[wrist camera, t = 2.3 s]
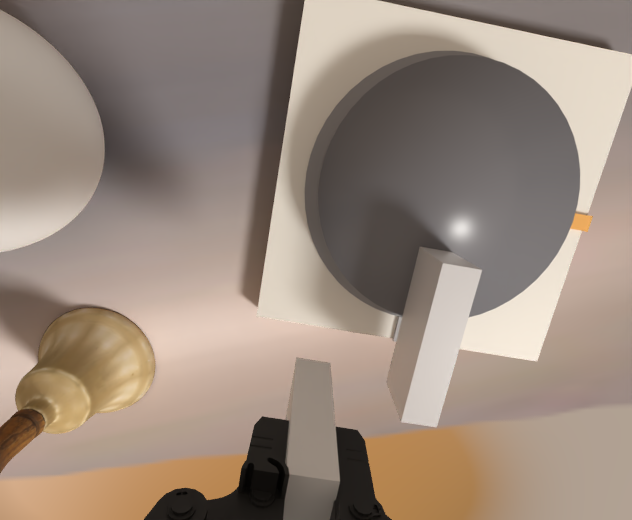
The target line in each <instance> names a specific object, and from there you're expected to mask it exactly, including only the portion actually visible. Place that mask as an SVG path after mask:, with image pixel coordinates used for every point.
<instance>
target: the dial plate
mask: <svg viewBox="0 0 632 520" xmlns="http://www.w3.org/2000/svg"><path fill="white" fill-rule="evenodd" d="M448 55H471V56H478V57H486V58H489V59H493V60H496V61H500V62H503V63H505V64H507V65H510V66H512V67H514V68H516V69H518V70H520V71H522V72H523V73H525V74H526V75H528V76H529V77H531V78H532V79H534V80H535V81H536V82H537V83H538V84H539V85H541V86H542V87H543V88H544V89H545V90H546V91H547V92H548V93H549V94H550V96H551V97H552V98H553V99H554V100H555V102H556V103H557V104H558V105H559V107H560V109H561V111H562V112H563V114H564V116H565V117H566V119H567V121H568V123H569V126H570V128H571V130H572V133H573V135H574V139H575V143H576V146H577V150H578V156H579V164H580V191H579V198H578V205H577V208H576V212H575V216H574V220H573V223H572V225H571V228H570V230H569V233H568V235H567V238H566V239H565V241H564V243H563V245H562V247H561V248H560V250H559V252H558V254H557V255H556V257H555V258H554V259H553V261H552V262H551V264H550V265H549V266H548V268H547V269H546V270H545V271H544V272H543V273H542V274H541V275H540V276H539V278H538V279H537V280H536V281H535V282H533V283H532V284H531V285H530V286H529V287H528V288H527V289H525V290H524V291H523V292H522V293H520V294H519V295H517V296H516V297H514V298H513V299H512V300H510V301H508V302H506V303H505V304H503V305H501V306H499V307H497V308H495V309H493V310H490V311H488V312H485V313H483V314H480V315H476V316H473V317H469V318H468V321H467V324H466V328H465V331H464V335H463V338H462V342H461V345H460V348H459V349H463V350H469V351H475V352H482V353H488V354H494V355H500V356H507V357H513V358H519V359H526V360H532V361H537V360H538V357H539V354H540V351H541V348H542V345H543V342H544V340H545V337H546V334H547V331H548V328H549V325H550V322H551V319H552V316H553V313H554V311H555V308H556V305H557V302H558V299H559V296H560V293H561V290H562V287H563V284H564V281H565V279H566V276H567V273H568V270H569V267H570V264H571V261H572V258H573V255H574V252H575V249H576V247H577V244H578V241H579V238H580V235H581V232H582V231H586V232H588V229H589V226H590V223H591V220H592V217H593V216H588V212H589V209H590V206H591V203H592V200H593V197H594V194H595V191H596V188H597V186H598V183H599V180H600V177H601V174H602V171H603V168H604V165H605V162H606V159H607V156H608V154H609V151H610V148H611V145H612V142H613V139H614V136H615V133H616V130H617V127H618V125H619V122H620V119H621V116H622V113H623V110H624V107H625V104H626V101H627V98H628V95H629V93H630V90H631V87H632V54H627V53H622V52H617V51H613V50H608V49H603V48H599V47H594V46H589V45H585V44H580V43H575V42H571V41H566V40H561V39H557V38H552V37H547V36H542V35H538V34H533V33H528V32H524V31H519V30H514V29H510V28H505V27H500V26H496V25H491V24H486V23H482V22H477V21H472V20H467V19H463V18H458V17H453V16H449V15H444V14H439V13H435V12H430V11H425V10H421V9H416V8H411V7H407V6H402V5H397V4H393V3H388V2H383V1H378V0H305V2H304V8H303V15H302V21H301V28H300V34H299V41H298V48H297V54H296V61H295V67H294V74H293V80H292V87H291V93H290V100H289V107H288V113H287V120H286V126H285V133H284V139H283V146H282V152H281V159H280V165H279V172H278V179H277V185H276V192H275V198H274V205H273V211H272V218H271V224H270V231H269V237H268V244H267V251H266V257H265V264H264V270H263V277H262V283H261V290H260V296H259V303H258V310H257V316H256V317H262V318H268V319H274V320H280V321H287V322H293V323H299V324H306V325H312V326H318V327H324V328H331V329H337V330H343V331H350V332H356V333H362V334H368V335H375V336H381V337H387V338H393V341H395V342H396V341H397V337H398V333H399V329H400V325H401V321H402V317H403V316H401V315H398V314H396V313H393V312H390V311H388V310H386V309H384V308H382V307H380V306H378V305H376V304H375V303H373V302H372V301H370V300H369V299H368V298H366V297H365V296H363V295H362V294H361V293H360V292H359V291H358V290H357V289H356V288H354V287H353V286H352V285H351V284H350V283H349V281H348V280H347V279H346V278H345V276H344V275H343V274H342V273H341V271H340V270H339V268H338V266H337V265H336V263H335V262H334V260H333V258H332V256H331V254H330V252H329V249H328V247H327V245H326V242H325V239H324V235H323V232H322V228H321V224H320V218H319V211H318V182H319V174H320V170H321V165H322V161H323V158H324V155H325V152H326V150H327V147H328V145H329V142H330V140H331V138H332V137H333V135H334V133H335V131H336V129H337V127H338V126H339V125H340V123H341V122H342V120H343V119H344V118H345V116H346V115H347V113H348V112H349V111H350V109H351V108H352V107H353V106H354V105H355V104H356V103H357V102H358V100H359V99H360V98H361V97H362V96H363V95H364V94H365V93H366V92H368V91H369V90H370V89H371V88H372V87H374V86H375V85H376V84H377V83H378V82H380V81H381V80H383V79H385V78H386V77H388V76H389V75H391V74H392V73H394V72H396V71H398V70H400V69H402V68H404V67H407V66H409V65H411V64H414V63H417V62H420V61H423V60H427V59H430V58H436V57H442V56H448Z"/></svg>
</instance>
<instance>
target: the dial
mask: <svg viewBox="0 0 632 520" xmlns="http://www.w3.org/2000/svg"><path fill="white" fill-rule="evenodd" d="M579 191H580V164H579V156H578V150H577V146H576V143H575V139H574V135H573V133H572V130H571V128H570V126H569V123H568V121H567V119H566V117H565V116H564V114H563V112H562V111H561V109H560V107H559V105H558V104H557V103H556V102H555V100H554V99H553V98H552V97H551V96H550V94H549V93H548V92H547V91H546V90H545V89H544V88H543V87H542V86H541V85H539V84H538V83H537V82H536V81H535V80H534V79H532V78H531V77H529V76H528V75H526V74H525V73H523V72H522V71H520V70H518V69H516V68H514V67H512V66H510V65H507V64H505V63H503V62H500V61H496V60H493V59H489V58H486V57H478V56H471V55H448V56H442V57H436V58H430V59H427V60H423V61H420V62H417V63H414V64H411V65H409V66H407V67H404V68H402V69H400V70H398V71H396V72H394V73H392V74H391V75H389V76H388V77H386V78H385V79H383V80H381V81H380V82H378V83H377V84H376V85H375V86H374V87H372V88H371V89H370V90H369V91H368V92H366V93H365V94H364V95H363V96H362V97H361V98H360V99H359V100H358V102H357V103H356V104H355V105H354V106H353V107H352V108H351V109H350V111H349V112H348V113H347V115H346V116H345V118H344V119H343V120H342V122H341V123H340V125H339V126H338V127H337V129H336V131H335V133H334V135H333V137H332V138H331V140H330V142H329V145H328V147H327V150H326V152H325V155H324V158H323V161H322V165H321V170H320V174H319V182H318V211H319V218H320V224H321V228H322V232H323V235H324V239H325V242H326V245H327V247H328V249H329V252H330V254H331V256H332V258H333V260H334V262H335V263H336V265H337V266H338V268H339V270H340V271H341V273H342V274H343V275H344V276H345V278H346V279H347V280H348V281H349V283H350V284H351V285H352V286H353V287H354V288H356V289H357V290H358V291H359V292H360V293H361V294H362V295H363V296H365V297H366V298H368V299H369V300H370V301H372V302H373V303H375V304H376V305H378V306H380V307H382V308H384V309H386V310H388V311H390V312H393V313H396V314H398V315H401V316H403V317H402V321H401V325H400V329H399V333H398V337H397V341H396V345H395V349H394V353H393V357H392V361H391V365H390V369H389V373H388V377H387V381H386V382H387V385H388V388H389V390H390V393H391V396H392V399H393V401H394V404H395V407H396V410H397V412H398V415H399V418H400V421H401V422H404V423H411V424H418V425H425V426H432V427H437V424H438V421H439V417H440V414H441V411H442V407H443V404H444V400H445V397H446V393H447V390H448V386H449V383H450V380H451V376H452V373H453V369H454V366H455V362H456V359H457V355H458V352H459V348H460V345H461V342H462V338H463V335H464V331H465V328H466V324H467V321H468V318H469V317H473V316H476V315H480V314H483V313H485V312H488V311H490V310H493V309H495V308H497V307H499V306H501V305H503V304H505V303H506V302H508V301H510V300H512V299H513V298H514V297H516V296H517V295H519V294H520V293H522V292H523V291H524V290H525V289H527V288H528V287H529V286H530V285H531V284H532V283H533V282H535V281H536V280H537V279H538V278H539V276H540V275H541V274H542V273H543V272H544V271H545V270H546V269H547V268H548V266H549V265H550V264H551V262H552V261H553V259H554V258H555V257H556V255H557V254H558V252H559V250H560V248H561V247H562V245H563V243H564V241H565V239H566V238H567V235H568V233H569V230H570V228H571V225H572V223H573V220H574V216H575V212H576V208H577V205H578V198H579Z"/></svg>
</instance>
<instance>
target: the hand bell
mask: <svg viewBox="0 0 632 520" xmlns="http://www.w3.org/2000/svg"><path fill="white" fill-rule="evenodd" d="M154 373H155V359H154V353H153V350H152V347H151V345H150V343H149V341H148V339H147V338H146V336H145V335H144V334H143V332H142V331H141V330H140V329H139V328H138V327H137V326H136V325H135V324H134V323H133V322H131V321H130V320H129V319H127V318H126V317H124V316H122V315H120V314H118V313H115V312H113V311H110V310H106V309H100V308H80V309H76V310H73V311H70V312H67V313H65V314H64V315H62V316H60V317H59V318H57V319H56V320H55V321H54V322H52V323H51V325H50V326H49V327H48V328H47V330H46V331H45V333H44V335H43V337H42V340H41V342H40V346H39V352H38V363H37V365H36V366H35V367H34V368H33V369H32V370H31V371H30V372H28V373H27V374H26V375H25V376H24V377H23V378H22V380H21V381H20V383H19V385H18V387H17V389H16V395H15V401H16V406H17V409H18V412H16V413H15V414H14V415H13V416H12V417H11V418H10V419H9V420H8V421H7V422H6V423H4V424H3V425H2V426H1V427H0V473H1V471H2V470H3V468H4V467H5V466H6V465H7V463H8V462H9V461H10V460H11V459H12V458H13V457H14V456H15V455H16V454H17V453H19V452H20V451H21V450H22V449H23V448H24V447H25V446H26V445H27V444H29V443H30V442H31V441H32V440H33V439H34V438H35V437H37V436H38V435H39V434H40V433H41V432H42V431H43V432H46V433H52V434H59V433H66V432H70V431H72V430H74V429H76V428H78V427H79V426H81V425H82V424H83V423H84V422H85V421H87V420H88V419H89V418H90V417H91V416H93V415H94V414H95V413H108V412H114V411H118V410H121V409H124V408H126V407H129V406H131V405H133V404H134V403H136V402H137V401H138V400H140V399H141V398H142V397H143V396H144V395H145V393H146V392H147V391H148V389H149V387H150V385H151V383H152V381H153V378H154Z"/></svg>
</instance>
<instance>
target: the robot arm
mask: <svg viewBox="0 0 632 520" xmlns="http://www.w3.org/2000/svg"><path fill="white" fill-rule="evenodd" d="M144 520H392V519H390V518H389V517H387V515H385V512H384V510H383V508H382V505H381V504H380V503H379V502H378V501H377V500H376V498H375V494H374V488H373V483H372V477H371V472H370V467H369V463H368V456H367V451H366V446H365V440H364V439H363V438H362V436H361V435H360V433H359V432H358V430H353V429H347V428H340V427H336V426H335V414H334V402H333V390H332V378H331V366H330V363H327V362H321V361H315V360H309V359H303V358H296V364H295V369H294V375H293V380H292V386H291V391H290V397H289V402H288V407H287V414H286V420H282V419H275V418H268V417H261V419H260V420H259V421H258V422H257V423H256V424H255V425H254V430H253V434H252V438H251V442H250V447H249V451H248V455H247V460H246V461H245V463H244V464H243V466H242V469H241V475H240V481H239V487H238V488H237V489H236V490H235V491H234V492H232V493H231V494H229V495H227V496H225V497H222V498H219V499H213V500H206V498H205V497H204V495H203V494H202V493H200V492H198V491H197V490H195V489H189V488H181V489H175V490H173V491H171V492H169V493H166V494H165V495H164V496H163V497H162V498H161V499H160V500H159V501H158V502H157V503H156V505H155V506H154V507H153V508H152V510H151V511H150V512H149V514H148V515H147V516H146V517H145V519H144Z"/></svg>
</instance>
